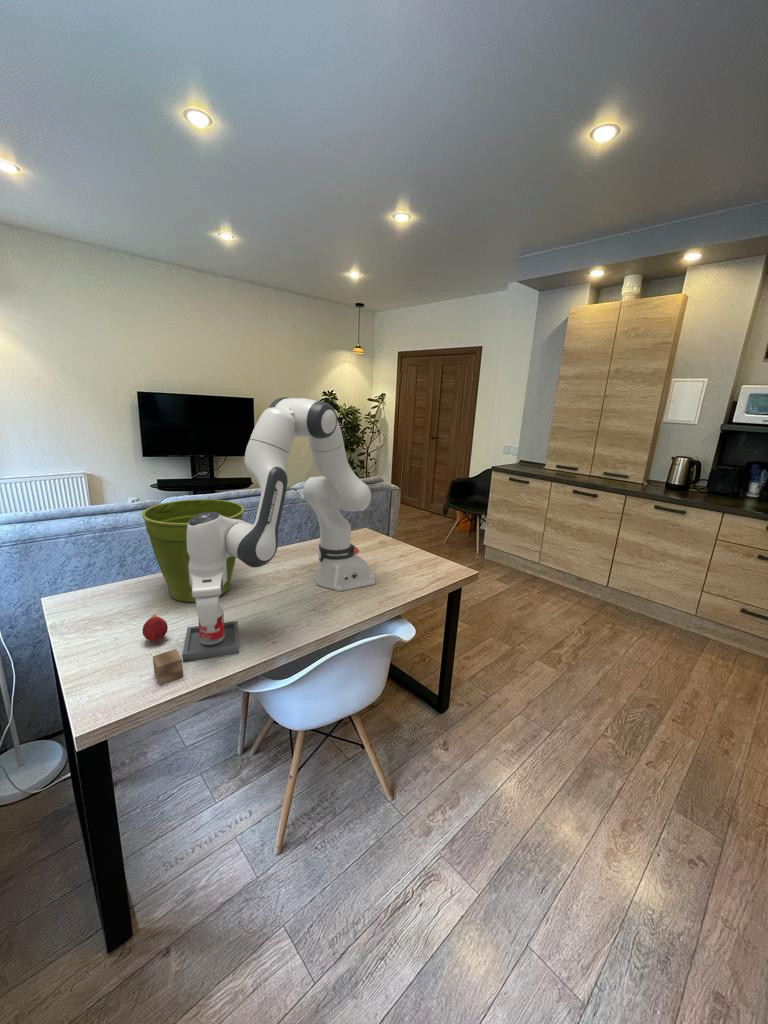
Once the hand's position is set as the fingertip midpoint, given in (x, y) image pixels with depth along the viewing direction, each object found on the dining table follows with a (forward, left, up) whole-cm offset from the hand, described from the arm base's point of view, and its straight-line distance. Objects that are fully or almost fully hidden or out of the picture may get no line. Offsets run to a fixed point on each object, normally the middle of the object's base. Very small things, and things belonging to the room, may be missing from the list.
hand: (211, 623), depth 105 cm
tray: (0, 0, -6) cm, 6 cm away
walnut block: (+9, +11, -6) cm, 16 cm away
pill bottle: (0, 0, -5) cm, 5 cm away
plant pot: (+5, -34, -6) cm, 35 cm away
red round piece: (+14, -5, -6) cm, 16 cm away
